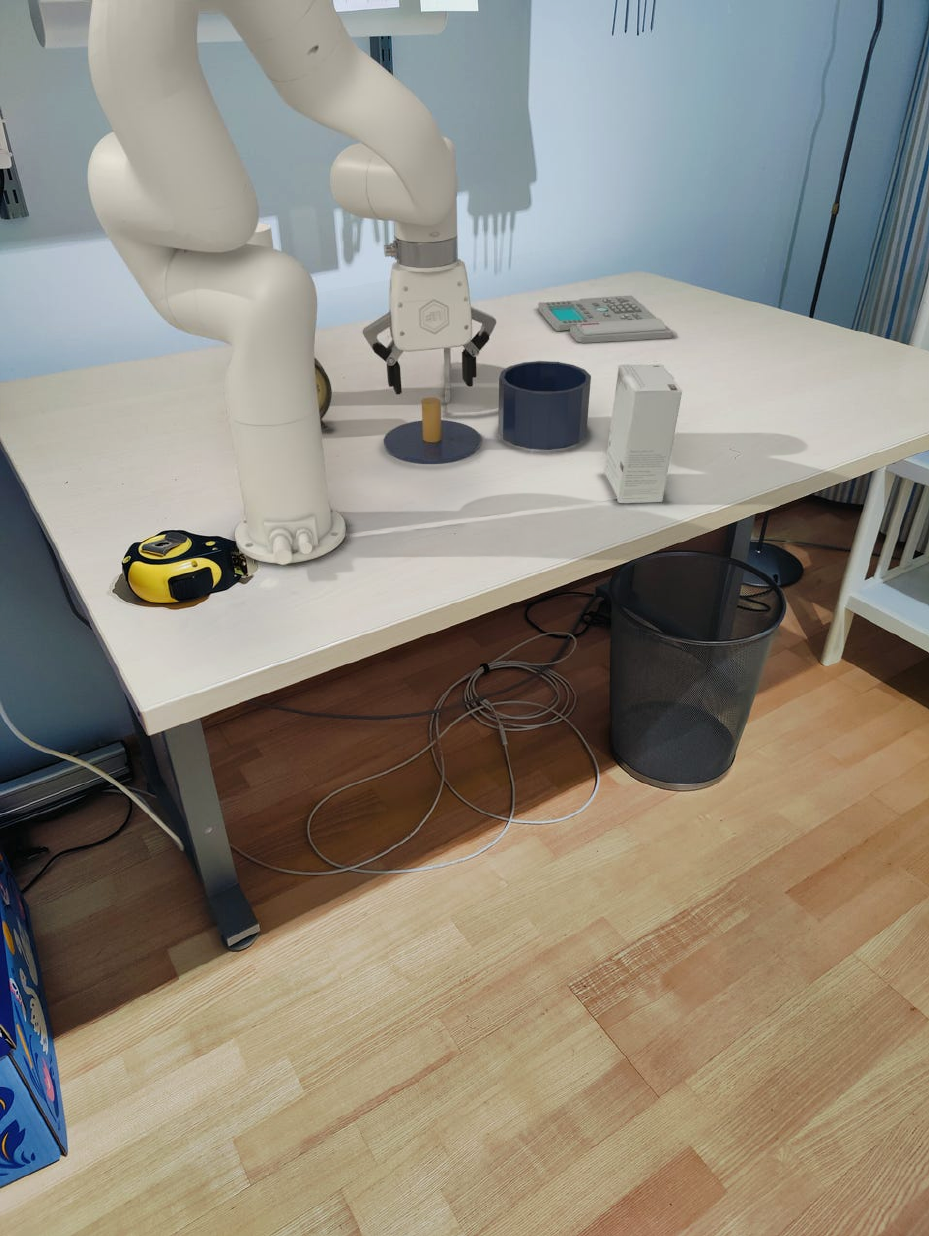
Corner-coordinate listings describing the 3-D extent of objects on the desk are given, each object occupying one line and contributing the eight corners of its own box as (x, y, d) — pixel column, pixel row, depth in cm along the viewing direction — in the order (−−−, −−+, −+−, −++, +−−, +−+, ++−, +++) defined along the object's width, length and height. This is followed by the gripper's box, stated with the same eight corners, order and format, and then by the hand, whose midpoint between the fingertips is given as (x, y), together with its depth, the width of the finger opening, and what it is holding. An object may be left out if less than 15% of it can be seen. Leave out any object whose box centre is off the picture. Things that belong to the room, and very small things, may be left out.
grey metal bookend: (446, 365, 146) (444, 261, 137) (524, 364, 146) (527, 260, 137) (445, 416, 129) (442, 301, 119) (534, 415, 129) (538, 300, 119)
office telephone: (675, 324, 156) (568, 331, 153) (673, 338, 158) (567, 346, 155) (632, 288, 174) (535, 294, 172) (630, 301, 176) (535, 307, 173)
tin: (599, 447, 119) (604, 388, 114) (512, 457, 117) (514, 397, 112) (569, 413, 129) (572, 357, 124) (489, 422, 127) (489, 365, 122)
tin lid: (491, 461, 116) (492, 414, 112) (393, 473, 114) (390, 425, 110) (467, 423, 127) (467, 378, 123) (377, 432, 124) (373, 387, 120)
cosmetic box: (603, 475, 112) (614, 363, 104) (648, 473, 113) (663, 361, 104) (618, 506, 106) (631, 388, 97) (667, 503, 106) (684, 386, 97)
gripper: (360, 265, 101) (372, 404, 111) (503, 253, 104) (502, 390, 114) (352, 249, 107) (364, 383, 117) (487, 239, 110) (487, 370, 120)
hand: (432, 386), depth 115 cm, fingers open, 9 cm apart
